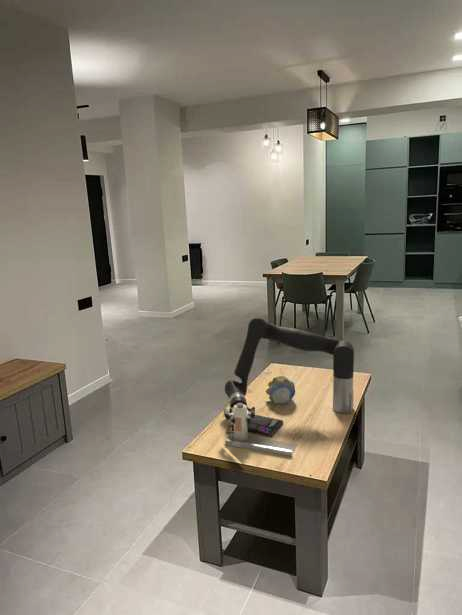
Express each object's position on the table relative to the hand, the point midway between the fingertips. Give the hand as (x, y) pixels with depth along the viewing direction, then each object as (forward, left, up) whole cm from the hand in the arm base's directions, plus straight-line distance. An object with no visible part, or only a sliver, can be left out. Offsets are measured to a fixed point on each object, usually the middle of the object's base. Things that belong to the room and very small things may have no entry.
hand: (241, 421), depth 189 cm
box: (-1, -17, -12) cm, 21 cm away
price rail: (-8, +3, -10) cm, 13 cm away
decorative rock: (-3, -48, -12) cm, 49 cm away
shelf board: (-8, -2, -11) cm, 14 cm away
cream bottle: (+1, -2, -9) cm, 9 cm away
